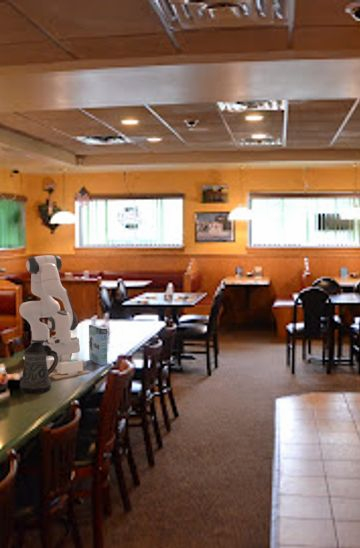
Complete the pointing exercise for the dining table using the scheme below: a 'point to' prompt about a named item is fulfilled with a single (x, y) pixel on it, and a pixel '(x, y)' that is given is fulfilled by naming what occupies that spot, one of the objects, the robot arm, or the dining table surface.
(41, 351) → the beer stein
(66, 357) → the module block
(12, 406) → the dining table surface
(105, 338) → the blue cardboard box
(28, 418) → the dining table surface
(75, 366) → the rail board
